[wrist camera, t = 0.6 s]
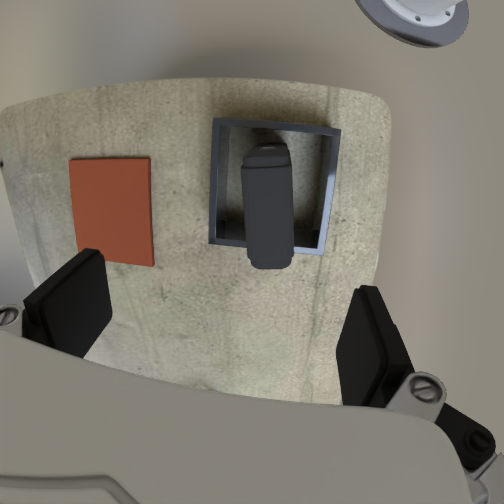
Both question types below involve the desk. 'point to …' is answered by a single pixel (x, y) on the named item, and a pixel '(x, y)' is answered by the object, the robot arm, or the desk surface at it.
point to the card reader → (268, 205)
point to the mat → (113, 208)
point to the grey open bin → (218, 227)
